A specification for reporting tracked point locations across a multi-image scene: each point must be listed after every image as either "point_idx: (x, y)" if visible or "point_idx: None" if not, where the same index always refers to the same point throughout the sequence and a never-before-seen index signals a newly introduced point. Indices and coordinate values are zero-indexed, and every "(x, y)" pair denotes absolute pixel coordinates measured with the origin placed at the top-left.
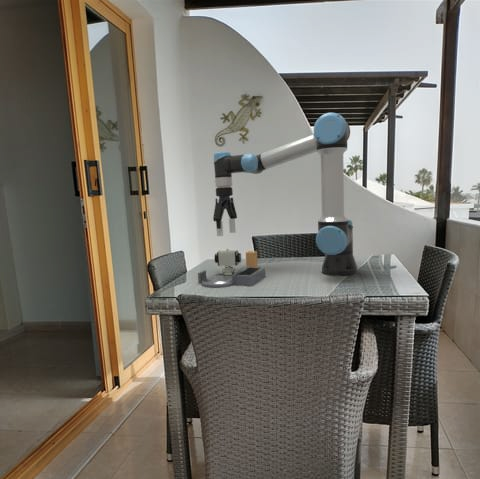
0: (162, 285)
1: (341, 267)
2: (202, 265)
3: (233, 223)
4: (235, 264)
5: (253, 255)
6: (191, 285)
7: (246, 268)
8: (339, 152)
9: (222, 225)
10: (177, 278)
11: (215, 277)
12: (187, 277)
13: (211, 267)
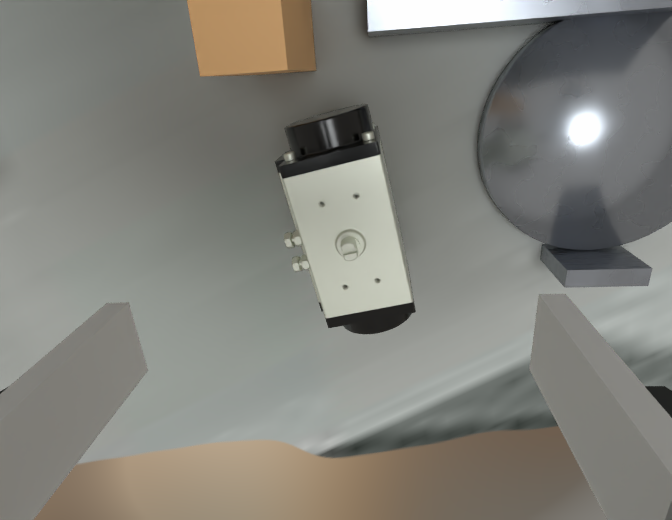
0: None
1: None
2: (176, 442)
3: (40, 407)
4: (379, 136)
5: None
6: (658, 274)
7: (421, 8)
8: None
9: (625, 401)
10: (496, 417)
11: (547, 195)
12: (467, 383)
13: (204, 378)
